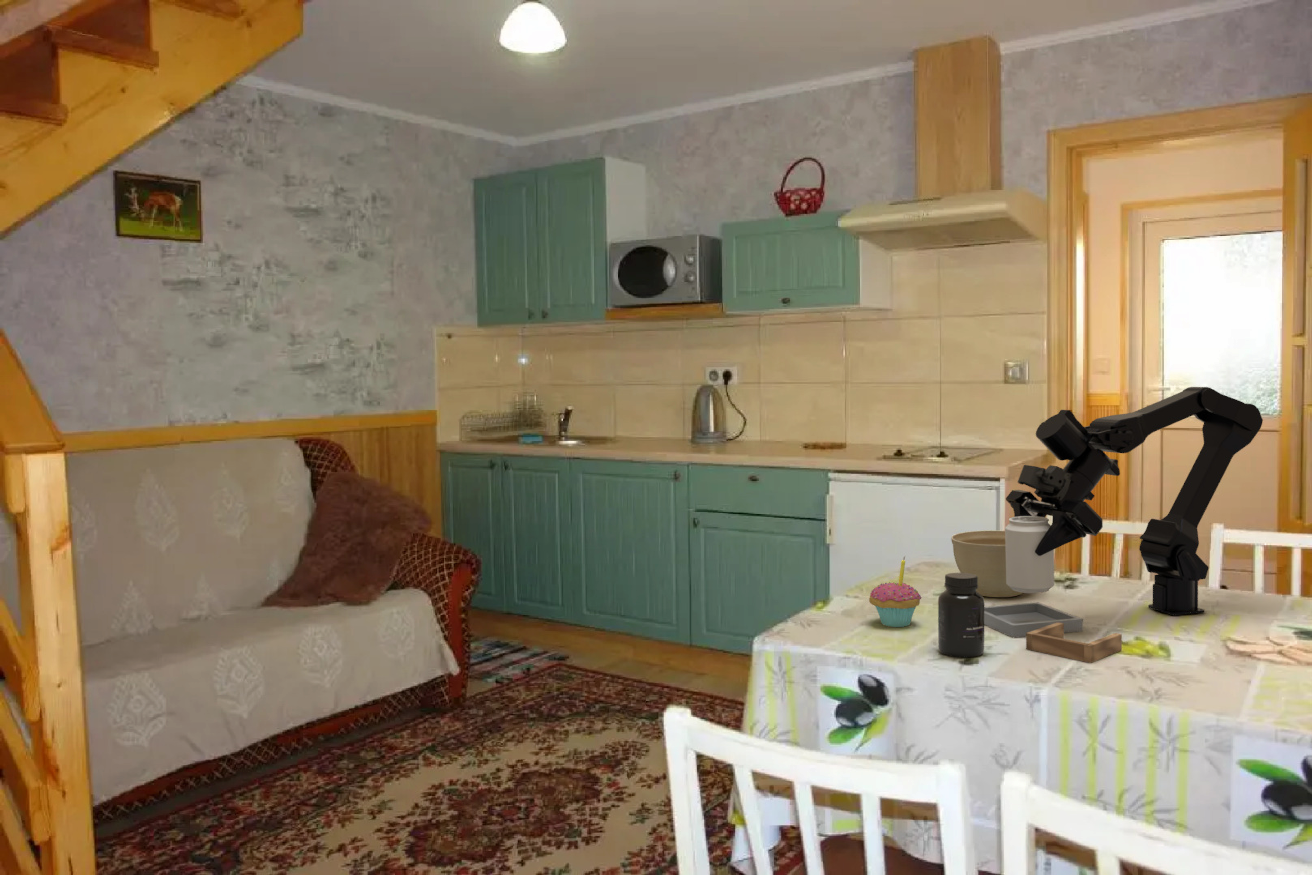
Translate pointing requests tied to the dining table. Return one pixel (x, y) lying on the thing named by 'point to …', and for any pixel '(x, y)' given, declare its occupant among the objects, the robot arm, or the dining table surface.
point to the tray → (1028, 618)
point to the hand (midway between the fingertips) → (1022, 550)
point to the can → (1028, 555)
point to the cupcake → (895, 601)
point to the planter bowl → (984, 560)
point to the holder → (1071, 644)
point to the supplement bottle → (961, 617)
